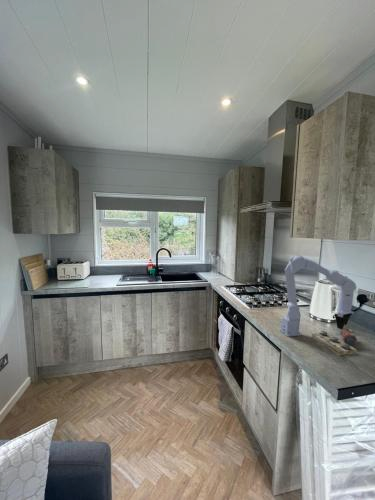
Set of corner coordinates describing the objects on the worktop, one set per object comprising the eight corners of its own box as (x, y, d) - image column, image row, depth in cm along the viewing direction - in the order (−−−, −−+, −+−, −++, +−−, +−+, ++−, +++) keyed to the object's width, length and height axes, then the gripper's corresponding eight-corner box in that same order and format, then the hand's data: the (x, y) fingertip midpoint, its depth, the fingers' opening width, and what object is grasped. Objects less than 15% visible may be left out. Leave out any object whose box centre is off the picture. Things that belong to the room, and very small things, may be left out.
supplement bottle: (348, 325, 121) (353, 334, 110) (355, 335, 119) (361, 345, 109) (337, 330, 123) (341, 339, 113) (344, 339, 122) (349, 350, 112)
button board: (339, 355, 104) (340, 351, 104) (311, 337, 121) (311, 333, 120) (355, 353, 107) (356, 348, 107) (326, 335, 123) (326, 331, 123)
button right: (346, 350, 106) (346, 347, 106) (340, 346, 109) (341, 343, 108) (351, 349, 106) (351, 346, 106) (345, 346, 109) (345, 343, 109)
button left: (323, 336, 118) (324, 333, 118) (319, 333, 121) (319, 331, 121) (328, 336, 119) (328, 333, 119) (323, 333, 122) (323, 330, 122)
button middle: (334, 343, 112) (334, 340, 112) (329, 340, 115) (329, 337, 115) (339, 342, 113) (339, 339, 113) (333, 339, 116) (334, 336, 115)
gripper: (351, 307, 106) (347, 333, 107) (358, 300, 115) (354, 325, 117) (334, 302, 111) (331, 328, 113) (342, 297, 121) (338, 320, 122)
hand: (341, 326), depth 115 cm, fingers open, 7 cm apart
